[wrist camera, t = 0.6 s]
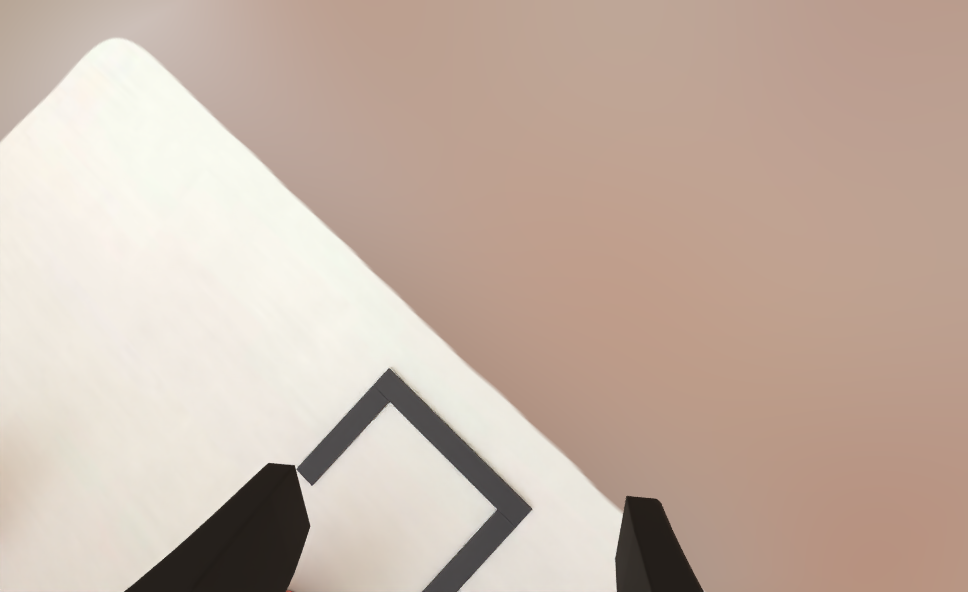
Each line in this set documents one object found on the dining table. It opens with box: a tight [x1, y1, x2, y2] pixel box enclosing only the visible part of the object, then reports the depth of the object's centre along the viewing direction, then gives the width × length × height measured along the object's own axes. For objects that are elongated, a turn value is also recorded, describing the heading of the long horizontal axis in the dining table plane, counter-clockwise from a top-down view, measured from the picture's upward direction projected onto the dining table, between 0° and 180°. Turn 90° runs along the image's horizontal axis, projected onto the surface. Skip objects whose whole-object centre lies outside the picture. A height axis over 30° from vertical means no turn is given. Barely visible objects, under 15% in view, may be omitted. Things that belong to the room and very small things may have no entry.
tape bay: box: [297, 369, 532, 592], centre depth 37 cm, size 10×14×1 cm
